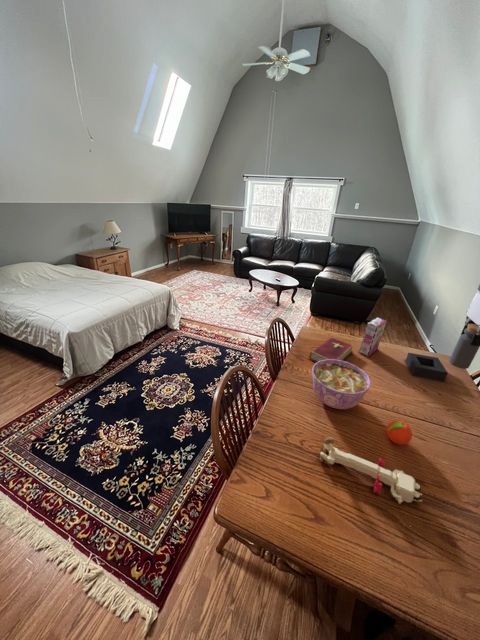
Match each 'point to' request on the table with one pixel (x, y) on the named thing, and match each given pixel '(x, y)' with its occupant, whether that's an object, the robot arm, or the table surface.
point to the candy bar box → (372, 336)
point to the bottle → (465, 348)
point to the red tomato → (399, 432)
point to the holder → (426, 366)
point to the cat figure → (375, 473)
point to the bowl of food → (339, 383)
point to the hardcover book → (331, 350)
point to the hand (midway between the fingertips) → (470, 340)
